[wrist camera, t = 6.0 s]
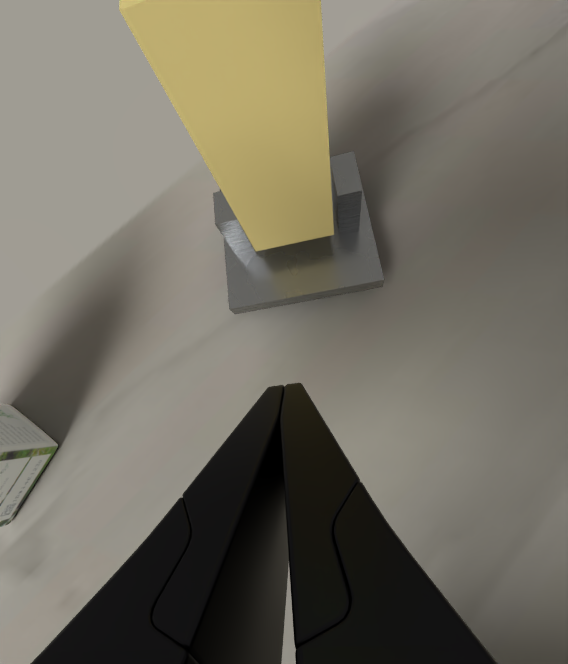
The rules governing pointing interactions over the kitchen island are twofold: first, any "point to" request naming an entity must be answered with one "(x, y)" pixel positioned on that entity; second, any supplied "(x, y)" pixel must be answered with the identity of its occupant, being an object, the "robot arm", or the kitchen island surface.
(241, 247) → the base
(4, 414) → the syrup box
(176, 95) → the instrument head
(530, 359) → the kitchen island surface
